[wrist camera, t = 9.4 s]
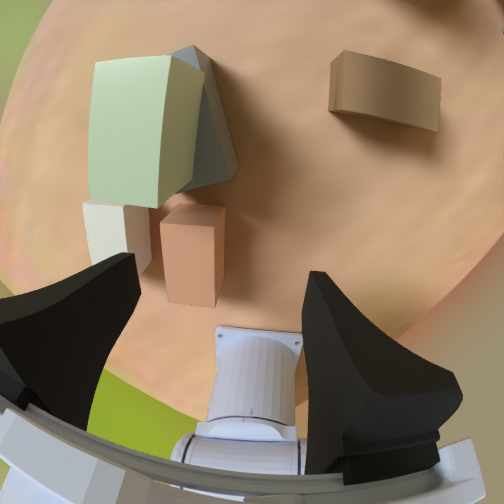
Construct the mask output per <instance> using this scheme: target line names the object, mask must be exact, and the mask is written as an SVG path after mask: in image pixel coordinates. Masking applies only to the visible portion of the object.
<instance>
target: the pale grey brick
mask: <svg viewBox="0 0 504 504" xmlns="http://www.w3.org/2000/svg"><path fill="white" fill-rule="evenodd" d="M82 206H83V214H84V221H85V228H86V234H87V241H88V246H89V252H90V257H91V262H92V266H93V265H95V264H97V263H99V262H101V261H103V260H105V259H107V258H109V257H111V256H113V255H116V254H118V253H121V252H127V253H135V259H136V265H137V271H138V277H140V275H141V274H142V273H143V271H144V270H145V269H146V267H147V266H148V265H149V263H150V262H151V261H152V254H151V241H150V226H149V207H142V206H135V205H127V204H120V203H112V202H104V201H96V200H90V199H89V200H88V201H86V202H84V203H83V204H82Z"/></svg>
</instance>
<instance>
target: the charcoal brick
mask: <svg viewBox="0 0 504 504" xmlns="http://www.w3.org/2000/svg"><path fill="white" fill-rule="evenodd" d="M170 55H172V56H174V57H176V58H178V59H180V60H181V61H183V62H185V63H187V64H189V65H191V66H193V67H195V68H197V69H198V70H200V71H202V72H204V73H205V77H204V83H203V90H202V97H201V104H200V111H199V119H198V127H197V136H196V145H195V155H194V165H193V176H192V180H191V181H190V182H188V183H187V184H186V185H185V186H183V187H182V188H181V189H180V190H179V191H177V192H176V193H175V194H177V193H181V192H185V191H188V190H192V189H196V188H200V187H204V186H207V185H211V184H215V183H220V182H224V181H228V180H231V178H232V177H233V176H234V174H235V173H236V171H237V170H238V169H239V164H238V160H237V156H236V153H235V149H234V145H233V141H232V138H231V134H230V130H229V127H228V123H227V119H226V115H225V112H224V108H223V104H222V101H221V97H220V93H219V90H218V86H217V82H216V79H215V75H214V71H213V68H212V64H211V61H210V57H208V56H207V55H206V54H205V53H203V52H202V51H201V50H199V49H198V48H197V47H196V46H194V45H192V46H189V47H186V48H184V49H181V50H178V51H175V52H173V53H170V54H168V55H165V56H170Z"/></svg>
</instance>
